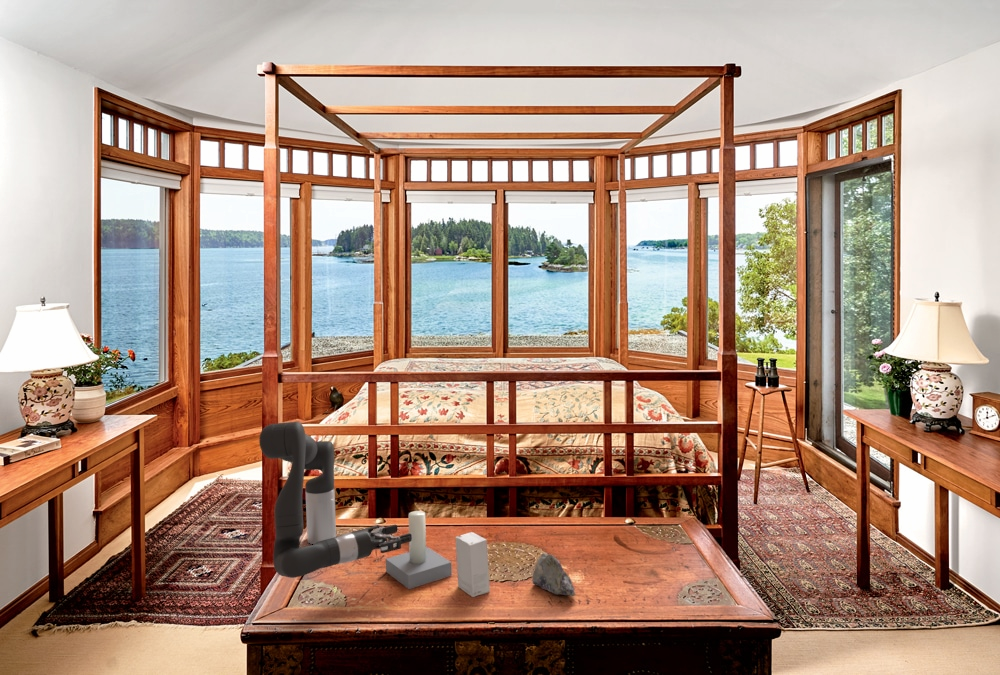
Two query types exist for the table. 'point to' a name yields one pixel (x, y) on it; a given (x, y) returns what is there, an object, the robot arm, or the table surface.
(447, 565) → the slate plinth
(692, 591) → the table surface
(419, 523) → the white cylinder
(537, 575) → the mineral rock
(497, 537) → the table surface
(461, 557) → the skincare box
